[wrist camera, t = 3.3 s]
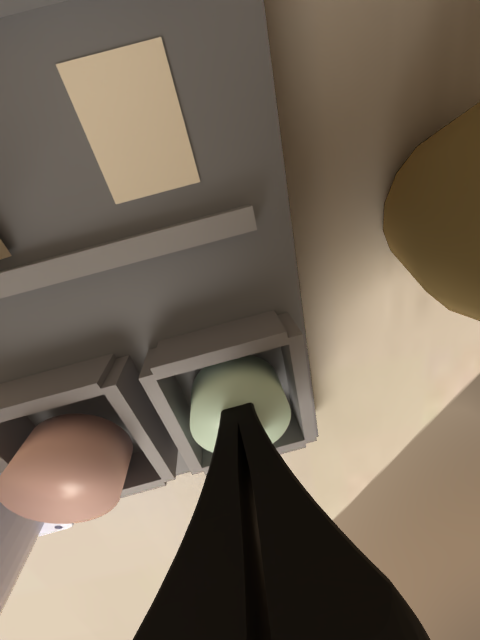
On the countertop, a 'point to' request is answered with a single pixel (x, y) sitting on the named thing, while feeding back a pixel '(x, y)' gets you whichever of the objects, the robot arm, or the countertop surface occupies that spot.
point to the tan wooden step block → (3, 251)
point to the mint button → (237, 397)
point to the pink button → (67, 470)
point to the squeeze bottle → (441, 215)
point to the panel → (142, 221)
